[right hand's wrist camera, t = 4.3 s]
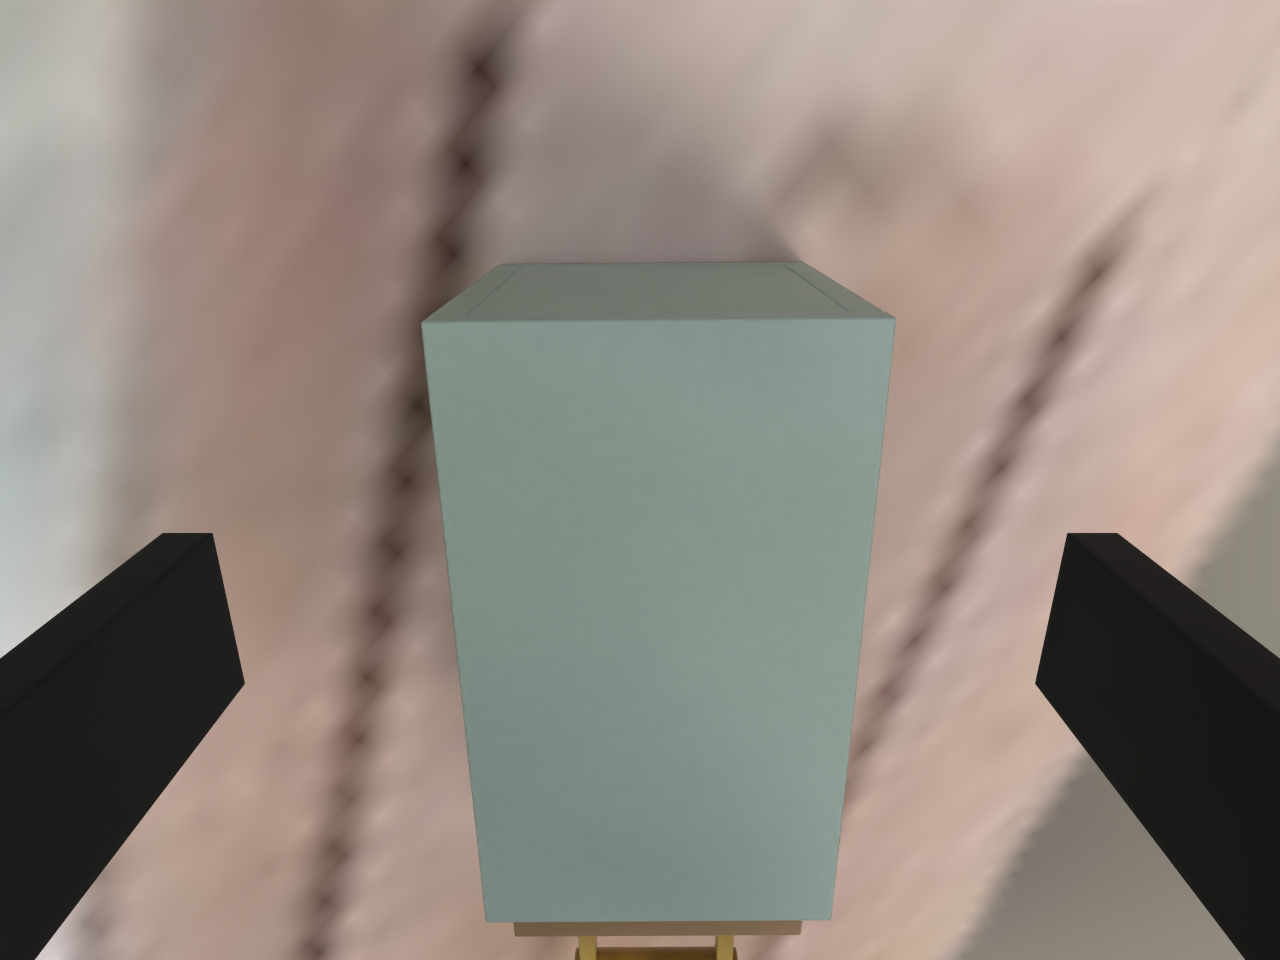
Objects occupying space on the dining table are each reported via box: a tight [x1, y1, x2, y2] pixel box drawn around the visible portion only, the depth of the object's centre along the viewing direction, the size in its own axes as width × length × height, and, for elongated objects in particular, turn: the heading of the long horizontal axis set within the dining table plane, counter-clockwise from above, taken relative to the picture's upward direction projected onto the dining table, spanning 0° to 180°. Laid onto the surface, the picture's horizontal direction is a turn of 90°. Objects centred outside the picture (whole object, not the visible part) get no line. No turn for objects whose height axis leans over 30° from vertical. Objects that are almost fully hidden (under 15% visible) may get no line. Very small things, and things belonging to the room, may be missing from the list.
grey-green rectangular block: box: [421, 262, 896, 922], centre depth 25 cm, size 17×10×10 cm, turn 0°
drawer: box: [514, 920, 802, 960], centre depth 27 cm, size 22×9×8 cm, turn 0°
